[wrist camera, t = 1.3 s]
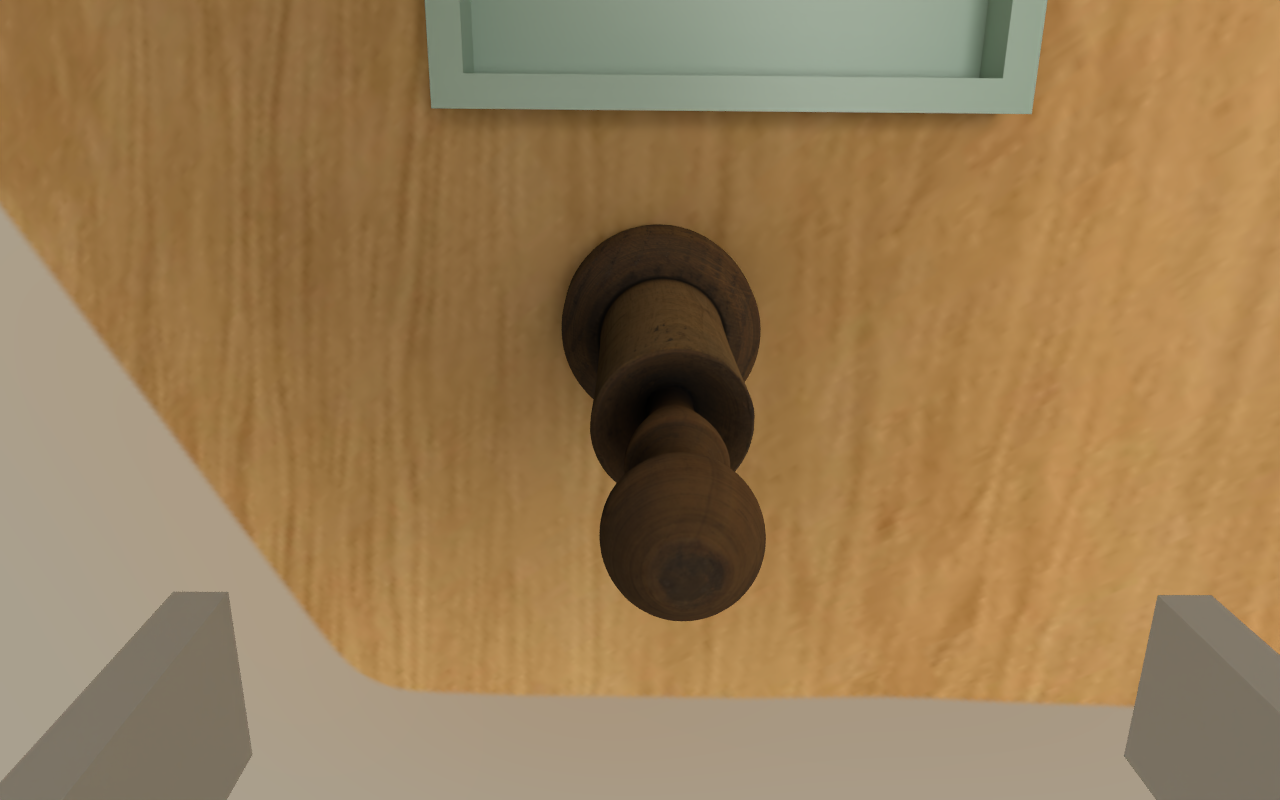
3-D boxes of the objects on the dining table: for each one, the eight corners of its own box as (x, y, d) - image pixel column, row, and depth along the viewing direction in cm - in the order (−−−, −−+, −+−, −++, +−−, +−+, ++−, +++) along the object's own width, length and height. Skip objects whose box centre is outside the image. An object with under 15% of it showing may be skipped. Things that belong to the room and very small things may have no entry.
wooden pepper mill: (774, 245, 32) (934, 435, 15) (730, 420, 34) (826, 762, 17) (583, 205, 31) (522, 355, 14) (549, 385, 34) (463, 700, 16)
